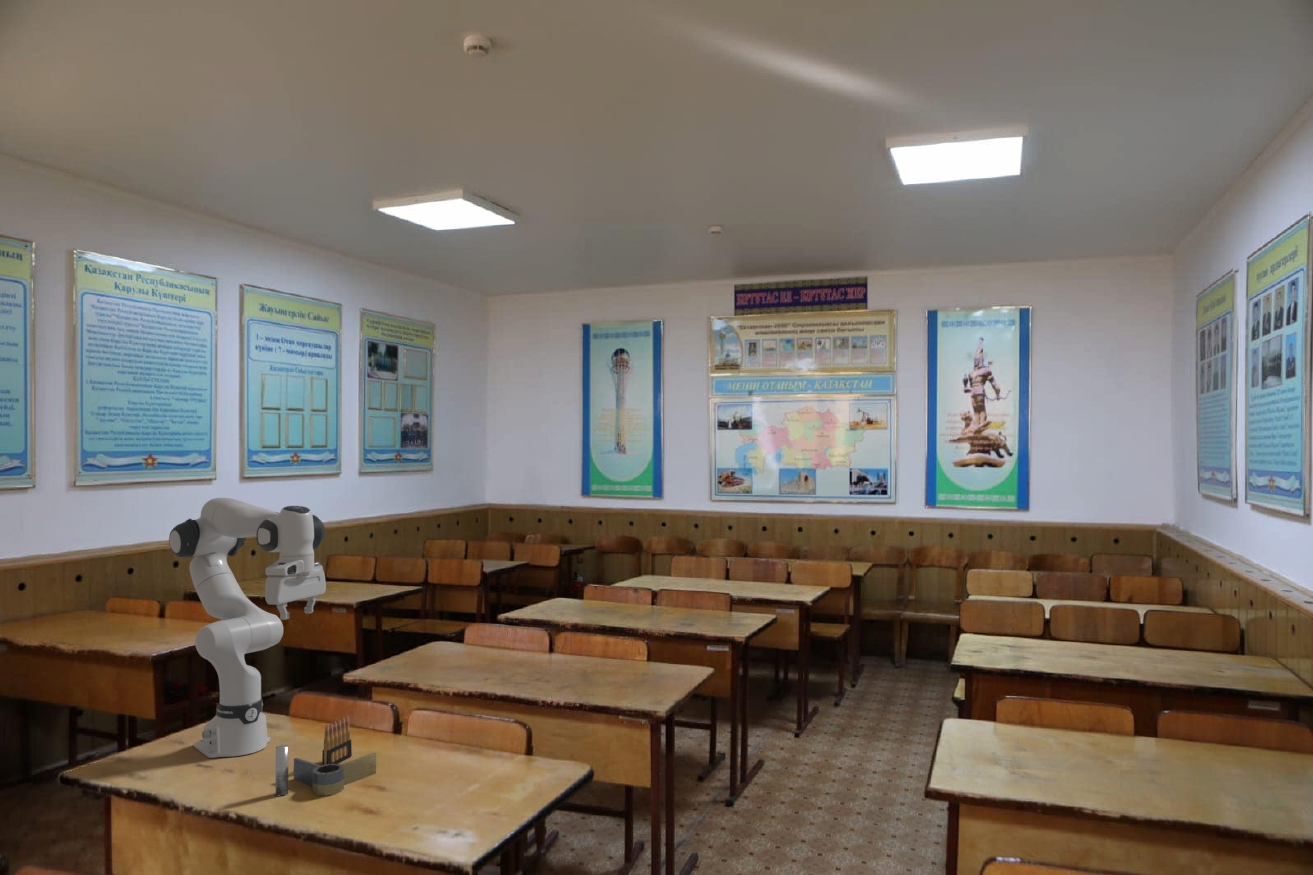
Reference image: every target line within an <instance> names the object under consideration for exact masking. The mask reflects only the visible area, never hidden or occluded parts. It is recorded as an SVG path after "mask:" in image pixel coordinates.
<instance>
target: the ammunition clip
mask: <svg viewBox="0 0 1313 875" xmlns="http://www.w3.org/2000/svg"><path fill="white" fill-rule="evenodd" d="M352 750H353V748H352V738H351V729H350V718H349V716H348V715H346V717H342V718H341V720H340V718H339V719H338V720H337V721H336V720H334V722H330V723H329V725H328V724H326V725H325V728H324V739H323V749H322V755H321V757H322V758H321V759H322V760H321V762H322V763H321V766H322V765H327V764H342V762H345V761H346V760H349V759H350V758H351V756H352V757H353V752H352Z"/></svg>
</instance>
